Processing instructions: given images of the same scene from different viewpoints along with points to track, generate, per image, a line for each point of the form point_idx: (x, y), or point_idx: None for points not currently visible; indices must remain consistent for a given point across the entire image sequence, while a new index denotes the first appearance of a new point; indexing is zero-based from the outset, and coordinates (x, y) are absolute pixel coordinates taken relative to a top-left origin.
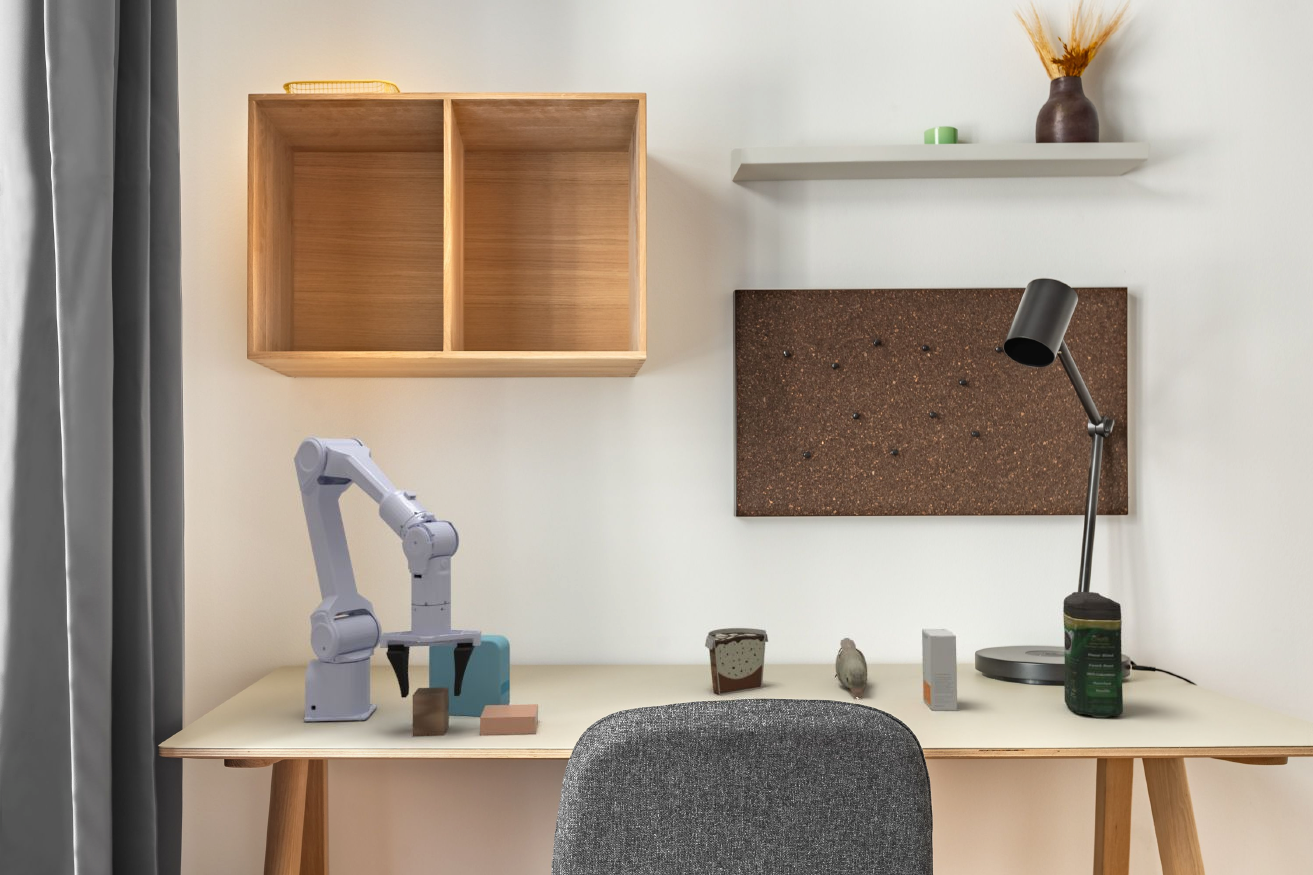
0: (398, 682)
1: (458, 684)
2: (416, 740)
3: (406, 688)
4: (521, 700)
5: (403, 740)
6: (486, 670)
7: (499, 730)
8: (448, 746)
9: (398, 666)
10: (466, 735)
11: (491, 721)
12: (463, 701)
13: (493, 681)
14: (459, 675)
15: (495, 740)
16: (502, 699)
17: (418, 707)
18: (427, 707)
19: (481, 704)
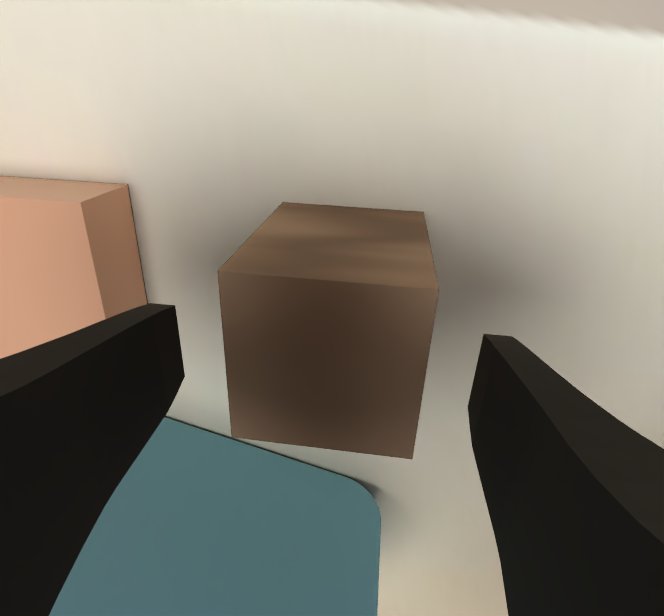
0: (573, 387)
1: (101, 325)
2: (399, 140)
3: (490, 384)
4: None
5: (463, 149)
6: None
7: (36, 181)
8: (227, 3)
9: (652, 474)
10: (185, 189)
11: (41, 194)
12: (238, 485)
13: None
14: (40, 350)
15: (36, 87)
16: None
17: (395, 255)
18: (341, 251)
19: (168, 454)
